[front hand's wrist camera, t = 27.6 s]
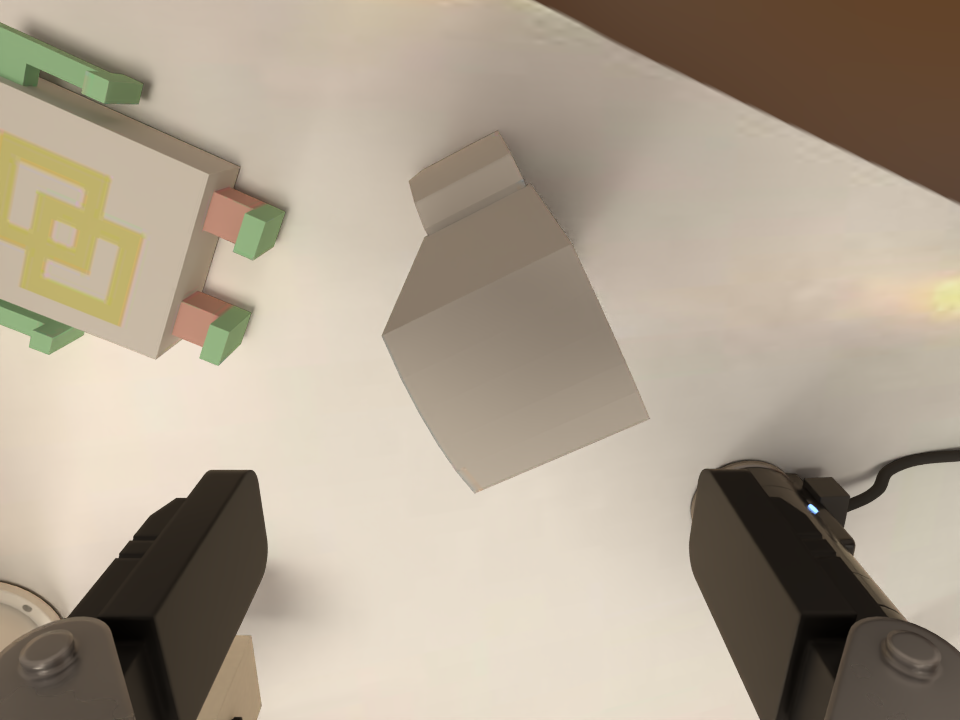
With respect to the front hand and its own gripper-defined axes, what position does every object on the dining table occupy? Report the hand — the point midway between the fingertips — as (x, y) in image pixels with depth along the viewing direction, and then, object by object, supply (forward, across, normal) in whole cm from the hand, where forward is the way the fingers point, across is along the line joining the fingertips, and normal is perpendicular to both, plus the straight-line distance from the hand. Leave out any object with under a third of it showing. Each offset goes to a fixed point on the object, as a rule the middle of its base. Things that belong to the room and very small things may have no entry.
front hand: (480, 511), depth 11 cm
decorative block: (+39, -28, 0) cm, 48 cm away
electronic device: (+39, +1, -2) cm, 39 cm away
